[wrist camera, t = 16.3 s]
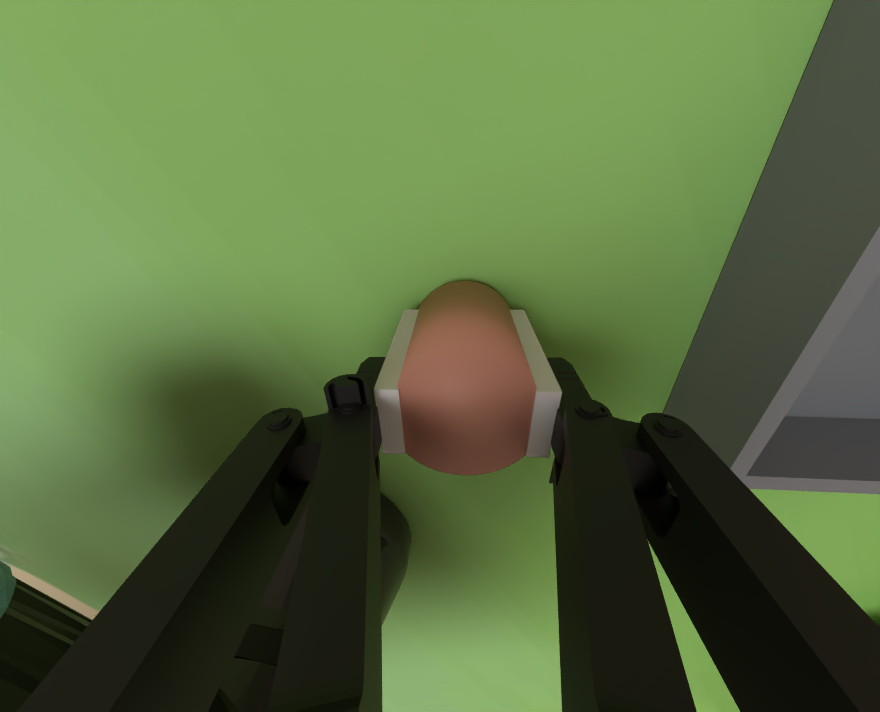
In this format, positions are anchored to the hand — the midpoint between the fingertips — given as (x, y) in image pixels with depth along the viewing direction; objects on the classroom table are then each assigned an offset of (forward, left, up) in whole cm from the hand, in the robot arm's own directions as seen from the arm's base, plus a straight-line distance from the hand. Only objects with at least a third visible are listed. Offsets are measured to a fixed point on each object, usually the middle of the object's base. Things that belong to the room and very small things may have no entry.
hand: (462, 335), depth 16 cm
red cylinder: (0, 0, -1) cm, 1 cm away
